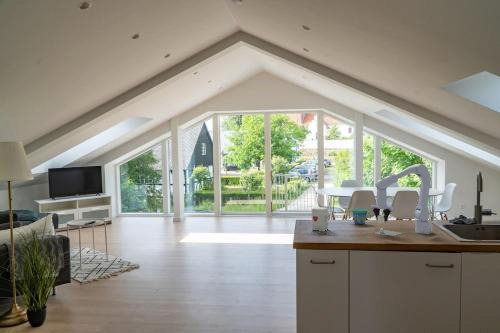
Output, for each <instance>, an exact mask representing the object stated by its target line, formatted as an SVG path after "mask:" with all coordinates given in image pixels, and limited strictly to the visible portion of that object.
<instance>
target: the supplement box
mask: <svg viewBox="0 0 500 333" xmlns="http://www.w3.org/2000/svg"><path fill="white" fill-rule="evenodd" d="M327 229H328V230H329V207H324V206H323V207H322V206H321V207H319V206H315V207H313V208H311V231H312V230H319V231H318V232H326V231H328V230H327ZM325 230H326V231H325Z"/></svg>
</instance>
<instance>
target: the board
mask: <svg viewBox="0 0 500 333" xmlns="http://www.w3.org/2000/svg"><path fill="white" fill-rule="evenodd" d="M375 234H377V235H384V236H390V237H394V236H399V235H401V234H403V232H399V231H393V230H387V229H384V228H380V229H379V231H376V232H375Z"/></svg>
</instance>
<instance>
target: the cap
mask: <svg viewBox="0 0 500 333" xmlns="http://www.w3.org/2000/svg"><path fill="white" fill-rule="evenodd" d="M376 222H377V223H379V224H386V223H387V221H386V222H385V221H384V214H379V215H378V217H377V220H376Z"/></svg>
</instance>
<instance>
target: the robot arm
mask: <svg viewBox="0 0 500 333" xmlns="http://www.w3.org/2000/svg"><path fill="white" fill-rule="evenodd" d="M410 174H415V175H416V176H418V177H419V179H420V180H421V181H420V188H419V195H418V203H417V205H416V207H415V209H414V211H413V216H414V217H415V222H414V224H415V225H414V226H415V227H414V228H415V231H414V232H415V233H417V234H426V235H431V234H433V222H432V221H430V220H428V219H429V218H430V213H429V210H430V209H429V207H428V203H429V195H430V194H429V193H430V188H431V180H432V176H431V174H430V172H429V168H428V166H426V165H425V164H424V163H423V164H419V163H415V164H412V165H409V166H408V167H406V168H404V169H403V170H401V171H399V172H397V173H396V174H395V173H388V176H385V177H382V179H378V180H377V181H376V182H375V187H376V204H371V205H370V209H372V212H373V213H374V216H375V219H376V221H377V217H378V215H381V214H380V213H381V210H383V215H384V221H385V222H386V223H387V222H388V220H389V216H390V214H391V212H392V211H394V206H390V205H389V206H388V205H387V204H388V201H387V198H388V196H387V189H388V187H390V186H392V185H393V184H396V183H397V182H398V181H399V179H401V178H403V177H406V176H407V175H410Z"/></svg>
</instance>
